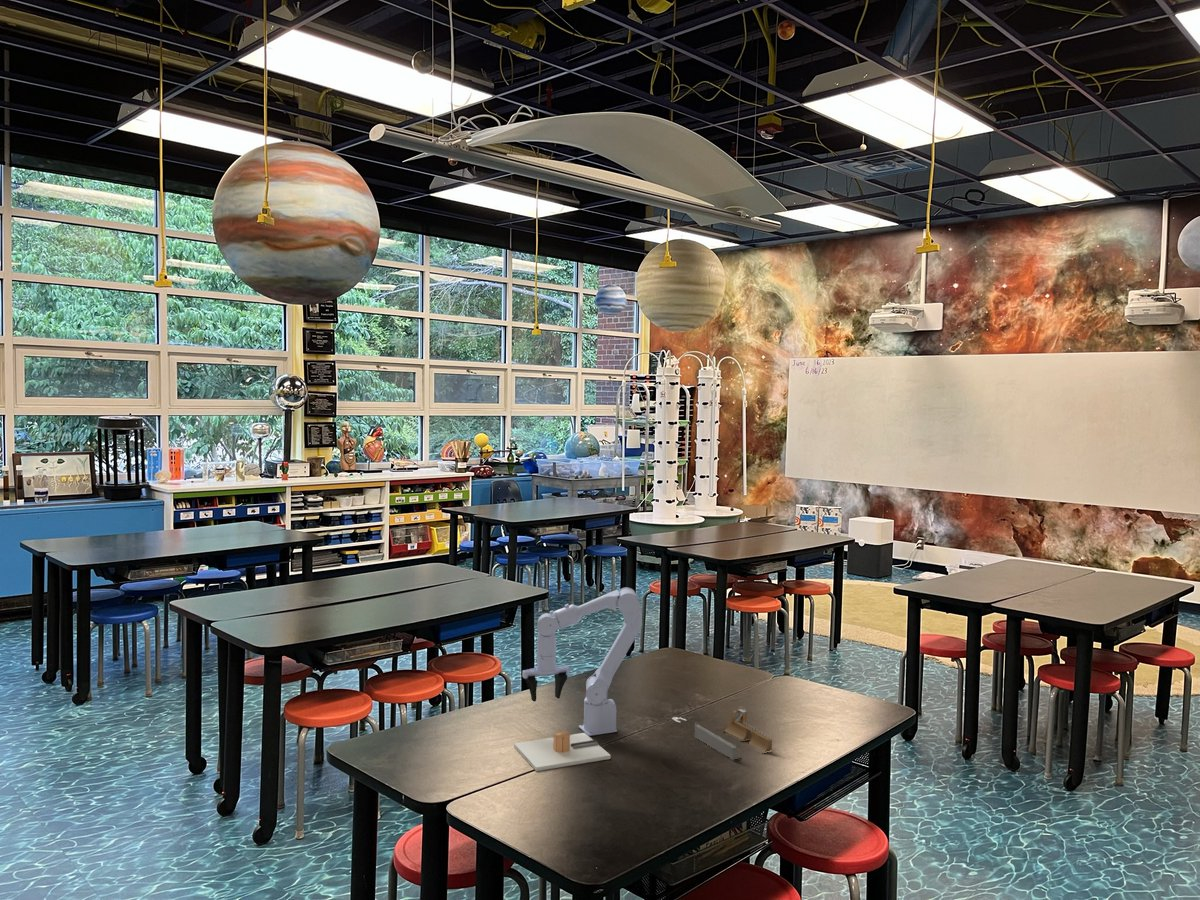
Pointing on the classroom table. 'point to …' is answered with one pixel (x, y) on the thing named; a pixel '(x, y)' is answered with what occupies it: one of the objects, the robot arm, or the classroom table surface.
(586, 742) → the plate
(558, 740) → the wire nut
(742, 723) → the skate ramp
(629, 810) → the classroom table surface
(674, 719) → the paper
